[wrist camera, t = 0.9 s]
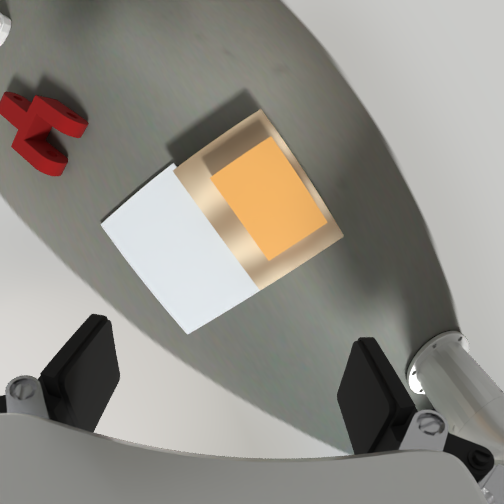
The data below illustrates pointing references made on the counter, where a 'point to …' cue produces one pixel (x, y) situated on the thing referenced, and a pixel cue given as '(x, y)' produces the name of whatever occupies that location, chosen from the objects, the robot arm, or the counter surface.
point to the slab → (269, 198)
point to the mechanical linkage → (40, 129)
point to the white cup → (4, 28)
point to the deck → (223, 217)
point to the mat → (178, 252)
